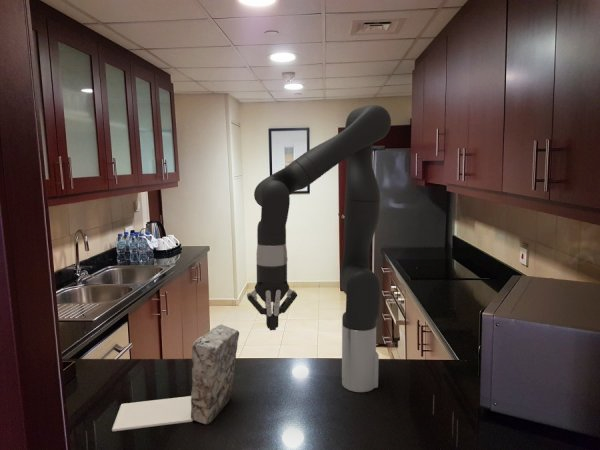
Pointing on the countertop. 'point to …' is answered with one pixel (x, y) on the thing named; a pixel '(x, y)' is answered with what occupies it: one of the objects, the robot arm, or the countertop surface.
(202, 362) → the stone block
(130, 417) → the mat
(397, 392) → the countertop surface
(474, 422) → the countertop surface
